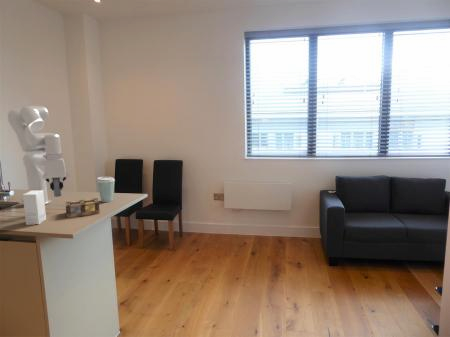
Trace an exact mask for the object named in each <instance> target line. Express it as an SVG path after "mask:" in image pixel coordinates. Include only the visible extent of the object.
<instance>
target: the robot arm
mask: <svg viewBox="0 0 450 337" xmlns="http://www.w3.org/2000/svg"><path fill="white" fill-rule="evenodd" d="M49 115H50V113H49V110H48V109H47V107H45V106H43V105H26V106H22V107H21V108H13V109H10V110H9V111H8V113H7V121H8V122H9V125H10V127H11V129H12V130H13V131H14V133H15V135H16V137H17V140H18V143H19V146H20V147H21V150H22V152H24V153H26V154H24V155H23V158H22V161H23V166H24V168H25V171H26V172H25V173H26V180H27V186H28V187H27V188H28V192H29V191H35V190H43V193H44V203H45V205H48V204H51V203H52V200H51V199H50V198H49V197H48V189H47V188H48V187H47V183H48V184H49V186H50V190H51V191H53V192H54V189H53V180H52V178H60V189H61V191H62V190H63V188H64V182H65V180H67V179H68V178H70V174H69V173H68V171H67V170H66V163H65V160H64V158H63V155H62V145H61V144H62V143H61V142H62V141H61V137H60V135H59V134H58V133H53V132H43V133H41V132H38V131H41V130H42V129H43V128H44V126H45V121H46V120H48V118H49ZM37 132H38V133H37ZM42 168H44V171H43V170H41V169H42ZM20 200H21V201H20V202H21V203H24V202H23V198H21V199H20Z"/></svg>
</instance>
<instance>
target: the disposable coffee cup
mask: <svg viewBox="0 0 450 337" xmlns="http://www.w3.org/2000/svg"><path fill="white" fill-rule="evenodd" d="M115 182H116V180H115V178H114V177H113V176H98V177H97V178H96V184H97V188H98V192H99V197H100V200H101V202H102V203H110V202H112V201H113V199H114V191H115V190H114V189H115Z"/></svg>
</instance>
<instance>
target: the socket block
mask: <svg viewBox="0 0 450 337" xmlns="http://www.w3.org/2000/svg"><path fill="white" fill-rule="evenodd" d="M100 211H101V210H100V202H99V199H98V198H97V197H96V198H89V199H81V200H72V201H71V200H70V201H66V202H65V212H66V214H65V215H66V218H67V219H69V218H76V217H77V218H78V217H83V216H89V215H90V216H91V215H97V214H98V215H99V214H100V213H101V212H100Z"/></svg>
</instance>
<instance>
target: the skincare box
mask: <svg viewBox="0 0 450 337" xmlns="http://www.w3.org/2000/svg"><path fill="white" fill-rule="evenodd" d="M22 199H23V202H22V203H23V210H24V217H25V218H24V219H25V225H26V226H32V225H33V226H34V225H35V224H38V225H41V224H42V223H43V222H45V221H46V220H47V215H46V214H47V213H46V212H47V211H46V206H45V205H46V204H45V203H44V193H43V190H35V191H29V190H28V191H27V192H25V193H23V194H22Z"/></svg>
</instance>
